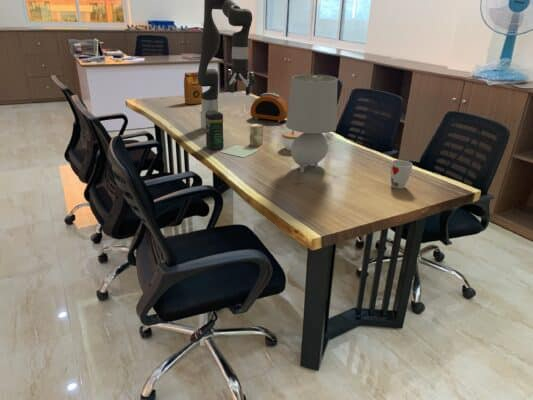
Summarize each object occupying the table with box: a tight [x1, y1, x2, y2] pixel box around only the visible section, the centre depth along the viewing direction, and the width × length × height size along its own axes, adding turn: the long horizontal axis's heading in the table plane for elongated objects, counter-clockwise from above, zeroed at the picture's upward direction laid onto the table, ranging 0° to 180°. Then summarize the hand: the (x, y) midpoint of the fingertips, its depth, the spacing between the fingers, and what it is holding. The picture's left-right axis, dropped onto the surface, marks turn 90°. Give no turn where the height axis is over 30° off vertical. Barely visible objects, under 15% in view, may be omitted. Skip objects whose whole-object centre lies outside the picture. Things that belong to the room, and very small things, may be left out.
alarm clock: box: [250, 92, 289, 123], centre depth 263 cm, size 23×9×17 cm, turn 68°
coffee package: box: [183, 71, 203, 105], centre depth 298 cm, size 10×12×22 cm
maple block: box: [249, 123, 264, 147], centre depth 216 cm, size 5×5×10 cm
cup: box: [390, 159, 413, 190], centre depth 170 cm, size 8×8×10 cm
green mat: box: [220, 144, 260, 158], centre depth 207 cm, size 14×14×1 cm
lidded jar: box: [281, 130, 303, 152], centre depth 211 cm, size 11×11×9 cm
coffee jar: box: [205, 110, 224, 151], centre depth 208 cm, size 10×8×19 cm
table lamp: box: [285, 74, 339, 174], centre depth 179 cm, size 23×22×40 cm
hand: (240, 93), depth 195 cm, fingers open, 8 cm apart
